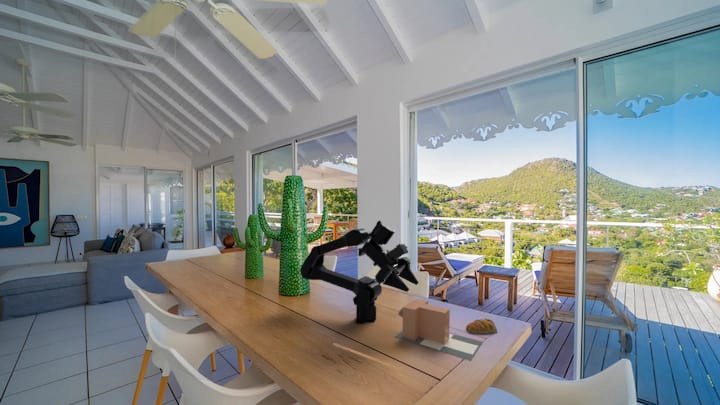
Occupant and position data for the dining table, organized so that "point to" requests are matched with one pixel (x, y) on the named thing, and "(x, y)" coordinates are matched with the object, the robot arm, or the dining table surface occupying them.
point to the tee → (425, 321)
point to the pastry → (481, 326)
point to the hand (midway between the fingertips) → (413, 287)
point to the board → (450, 345)
